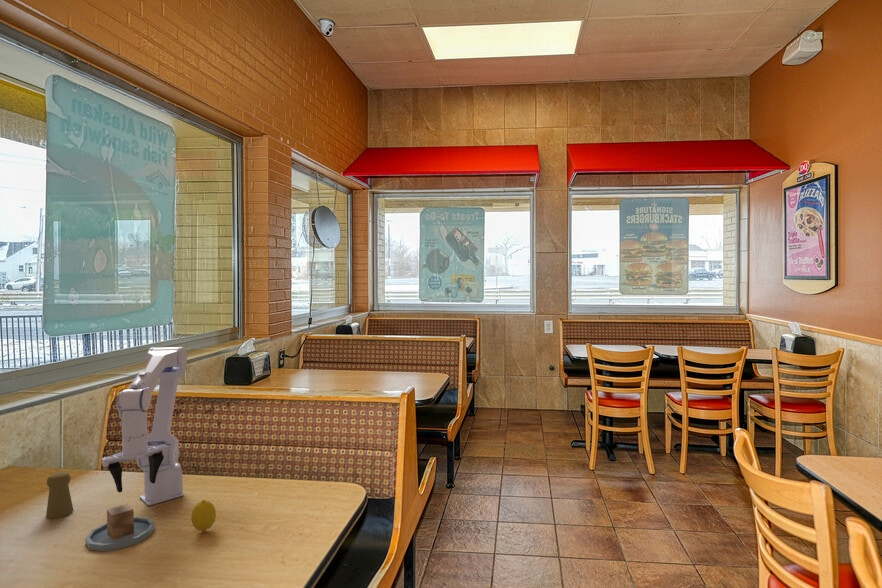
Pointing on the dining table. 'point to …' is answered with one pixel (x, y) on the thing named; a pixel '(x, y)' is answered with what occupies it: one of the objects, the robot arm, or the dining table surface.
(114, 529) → the block
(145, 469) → the robot arm
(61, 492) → the cork
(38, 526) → the dining table surface
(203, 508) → the lemon
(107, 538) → the plate
